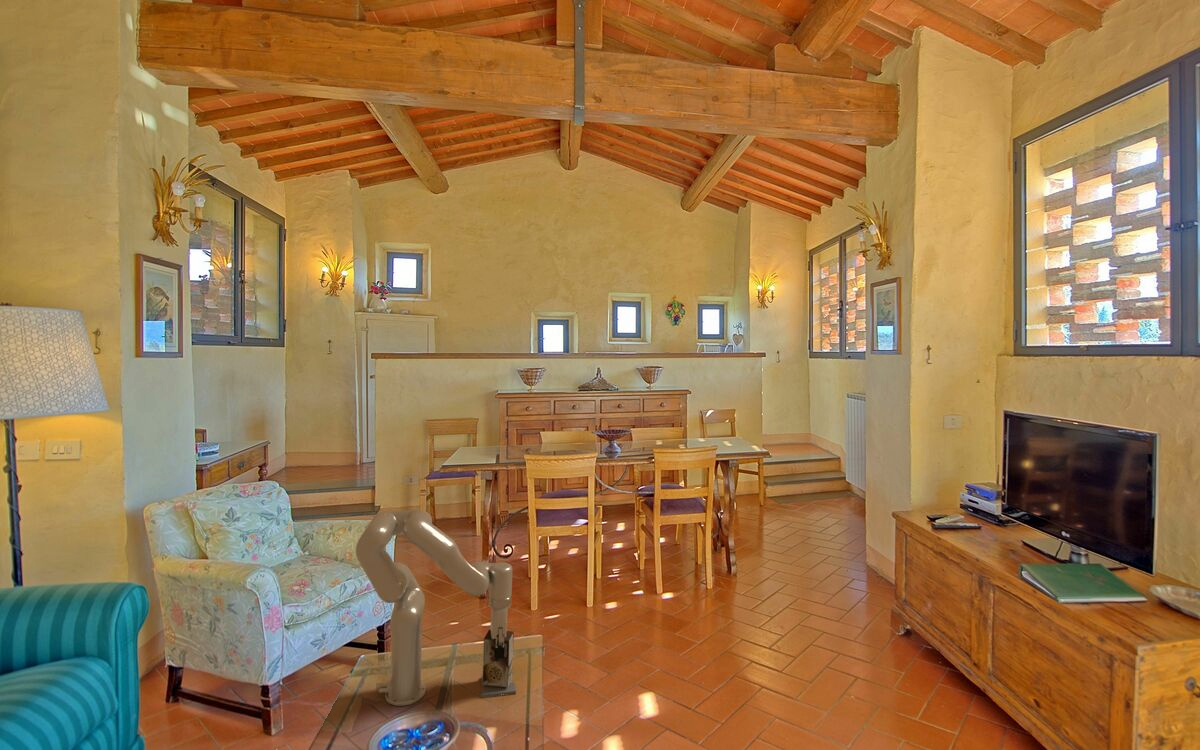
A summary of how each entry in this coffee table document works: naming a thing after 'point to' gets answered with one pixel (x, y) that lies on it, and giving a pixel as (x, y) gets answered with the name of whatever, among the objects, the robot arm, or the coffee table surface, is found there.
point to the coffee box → (498, 661)
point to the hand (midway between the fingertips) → (498, 650)
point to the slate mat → (497, 689)
